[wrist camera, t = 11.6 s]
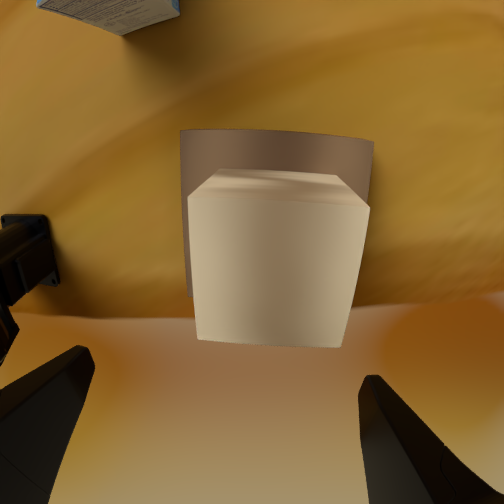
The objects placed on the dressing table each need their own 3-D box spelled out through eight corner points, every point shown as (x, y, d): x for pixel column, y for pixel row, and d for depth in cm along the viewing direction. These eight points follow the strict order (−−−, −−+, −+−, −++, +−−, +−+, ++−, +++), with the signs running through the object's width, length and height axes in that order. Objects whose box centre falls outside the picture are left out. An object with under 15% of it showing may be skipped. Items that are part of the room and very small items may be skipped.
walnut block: (199, 273, 21) (188, 296, 19) (195, 128, 17) (180, 130, 14) (339, 282, 21) (347, 307, 18) (359, 138, 16) (373, 141, 14)
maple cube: (220, 271, 18) (197, 339, 12) (219, 168, 15) (187, 196, 10) (323, 277, 17) (340, 347, 12) (336, 175, 15) (370, 207, 9)
